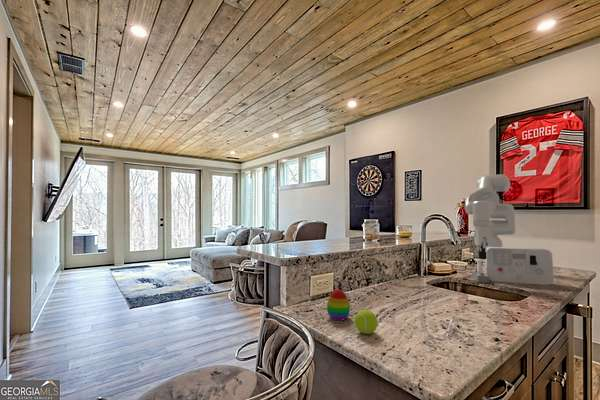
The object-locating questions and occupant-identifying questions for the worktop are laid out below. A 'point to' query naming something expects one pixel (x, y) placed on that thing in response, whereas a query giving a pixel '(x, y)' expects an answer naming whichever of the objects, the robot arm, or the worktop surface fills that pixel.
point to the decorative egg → (338, 305)
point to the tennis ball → (366, 321)
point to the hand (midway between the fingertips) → (482, 258)
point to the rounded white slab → (519, 265)
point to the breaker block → (480, 277)
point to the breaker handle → (479, 266)
